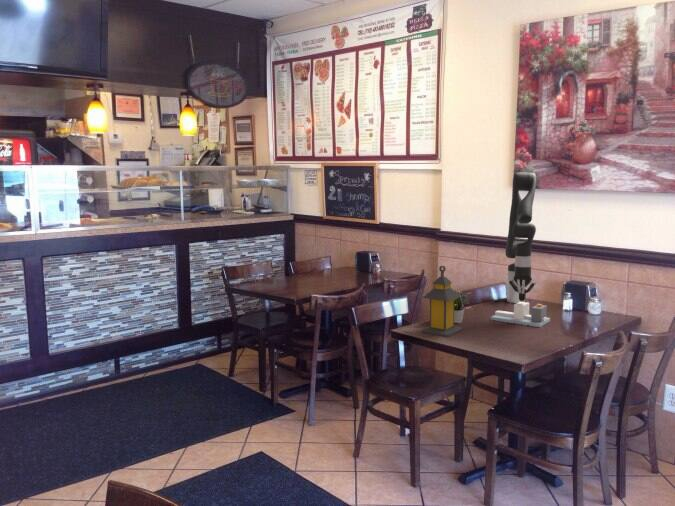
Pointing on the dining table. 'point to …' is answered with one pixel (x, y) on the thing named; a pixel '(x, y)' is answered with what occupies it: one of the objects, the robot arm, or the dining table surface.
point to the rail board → (524, 322)
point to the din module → (521, 310)
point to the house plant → (457, 310)
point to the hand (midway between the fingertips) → (521, 300)
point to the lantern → (442, 307)
